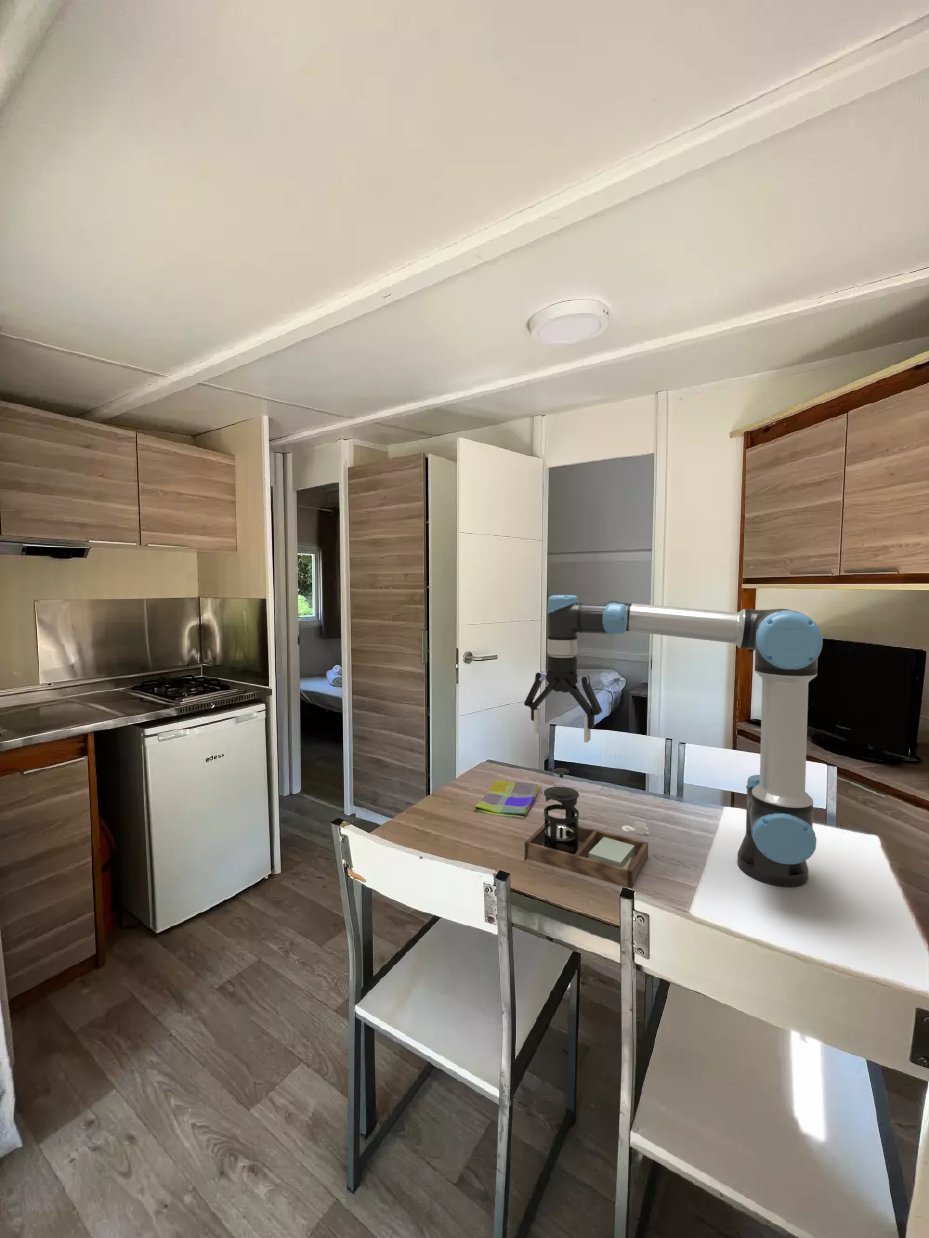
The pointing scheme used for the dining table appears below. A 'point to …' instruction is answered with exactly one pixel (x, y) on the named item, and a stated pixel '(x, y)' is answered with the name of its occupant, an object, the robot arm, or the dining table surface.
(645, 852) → the walnut tray
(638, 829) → the teacup and saucer
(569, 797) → the french press
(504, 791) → the dish towel
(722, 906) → the dining table surface
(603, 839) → the sage offcut top
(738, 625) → the robot arm
